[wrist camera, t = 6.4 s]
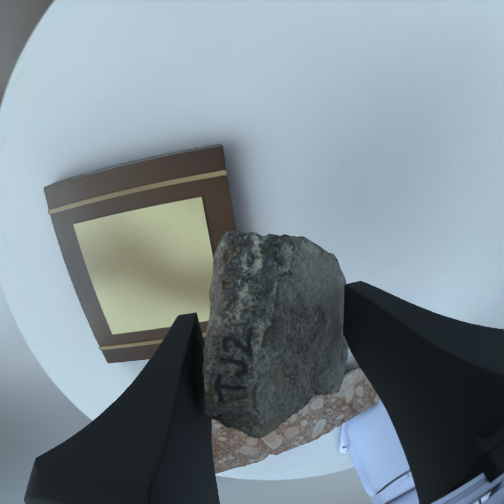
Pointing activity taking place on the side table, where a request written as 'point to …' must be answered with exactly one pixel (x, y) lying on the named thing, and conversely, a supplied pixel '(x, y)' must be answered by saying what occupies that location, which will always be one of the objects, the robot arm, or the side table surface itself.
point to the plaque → (143, 244)
